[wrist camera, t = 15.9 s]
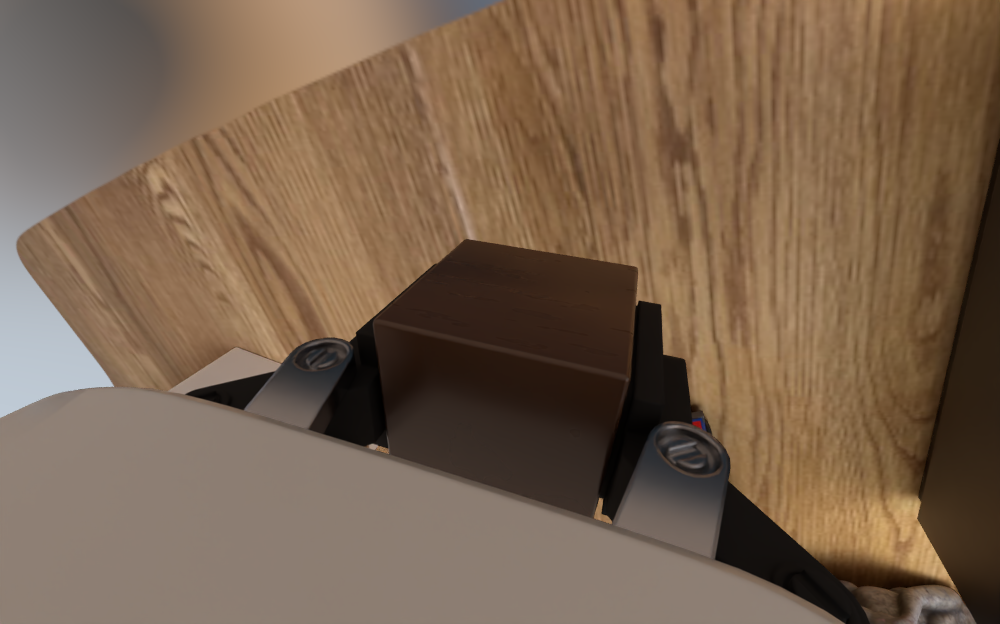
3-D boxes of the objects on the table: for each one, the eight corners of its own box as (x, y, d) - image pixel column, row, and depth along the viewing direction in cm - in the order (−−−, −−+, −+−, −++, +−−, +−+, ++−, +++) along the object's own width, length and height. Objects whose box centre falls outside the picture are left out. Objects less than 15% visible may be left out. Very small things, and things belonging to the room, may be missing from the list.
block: (465, 237, 11) (370, 319, 8) (639, 265, 10) (631, 379, 6) (464, 370, 14) (391, 485, 10) (605, 405, 13) (585, 549, 9)
